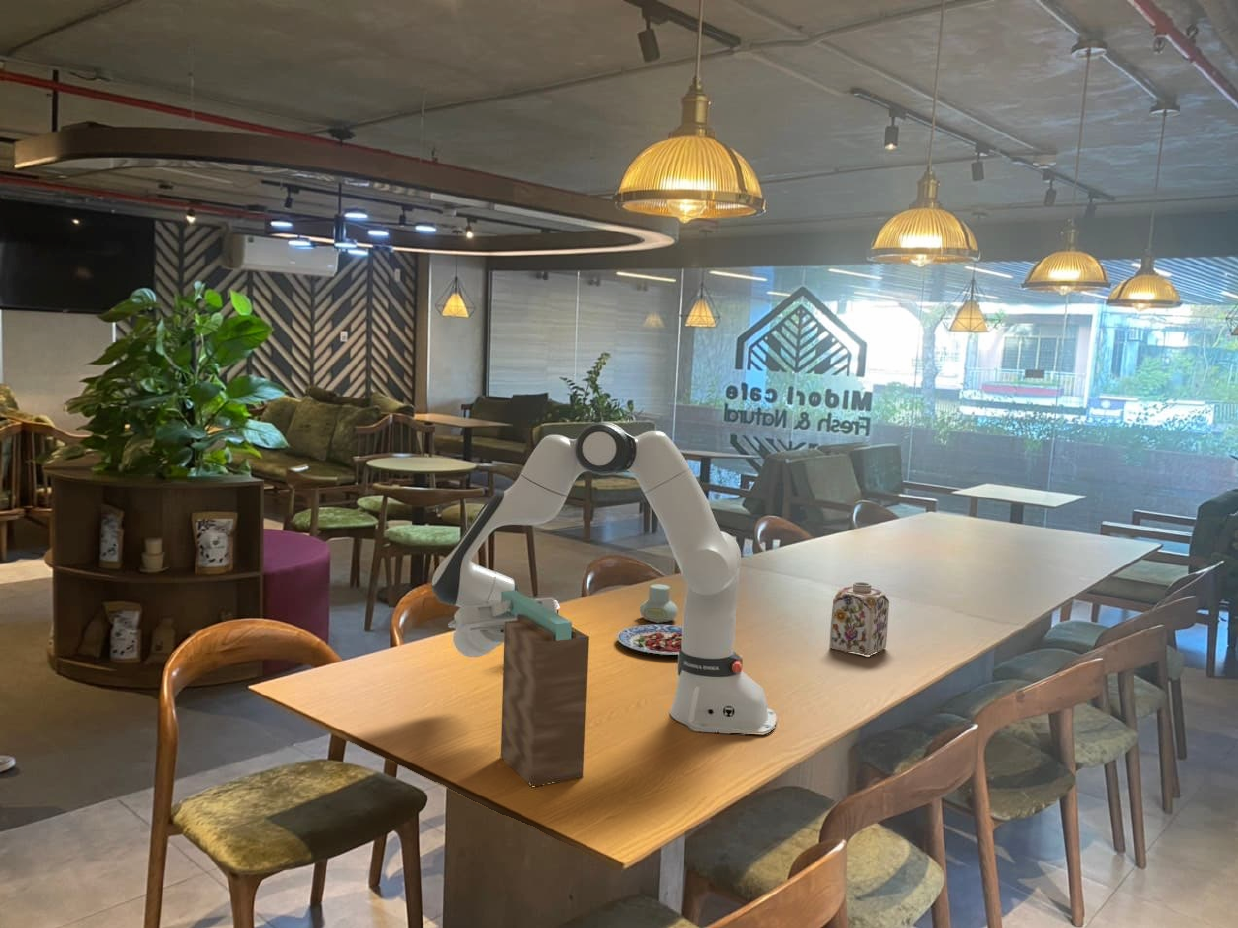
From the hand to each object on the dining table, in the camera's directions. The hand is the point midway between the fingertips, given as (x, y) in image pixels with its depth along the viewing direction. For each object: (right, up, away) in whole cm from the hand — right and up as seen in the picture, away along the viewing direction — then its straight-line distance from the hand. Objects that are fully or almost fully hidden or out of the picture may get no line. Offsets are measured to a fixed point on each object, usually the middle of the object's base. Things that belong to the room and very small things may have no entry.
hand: (520, 603), depth 183 cm
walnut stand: (+4, -29, -6) cm, 30 cm away
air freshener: (+30, -19, +95) cm, 101 cm away
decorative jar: (+83, -23, +75) cm, 114 cm away
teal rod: (+3, -3, -5) cm, 7 cm away
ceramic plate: (+31, -22, +71) cm, 81 cm away
